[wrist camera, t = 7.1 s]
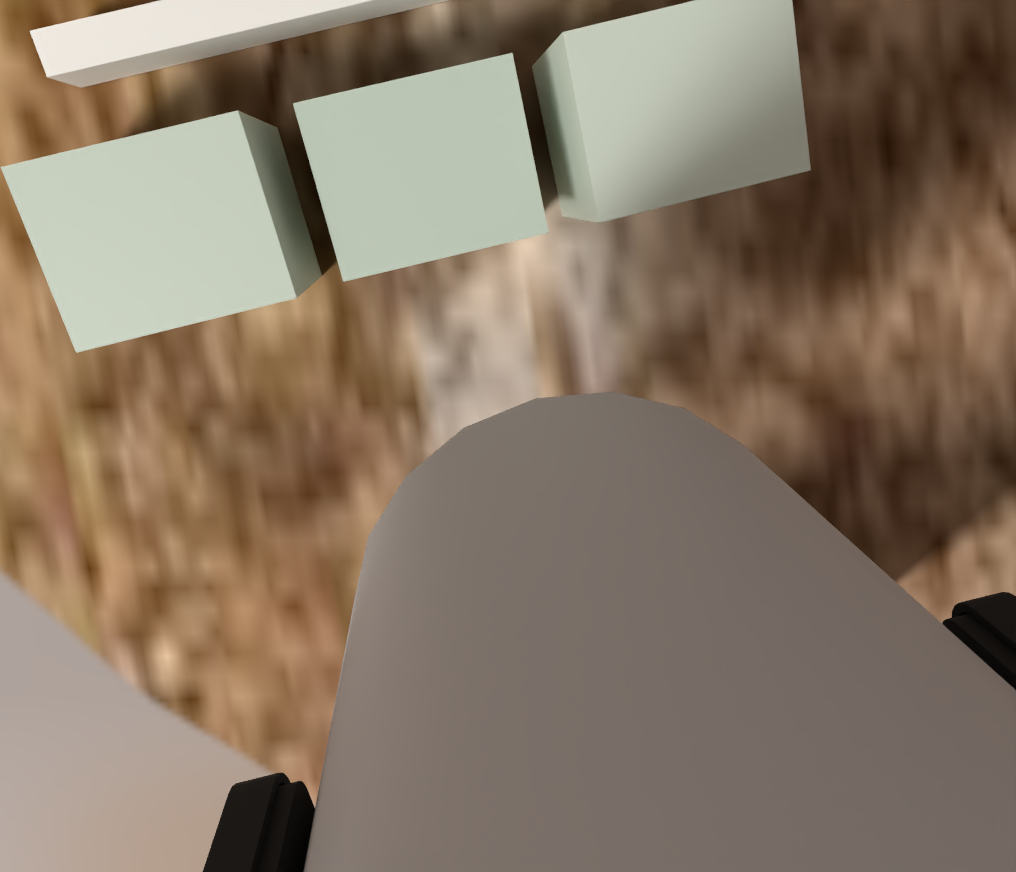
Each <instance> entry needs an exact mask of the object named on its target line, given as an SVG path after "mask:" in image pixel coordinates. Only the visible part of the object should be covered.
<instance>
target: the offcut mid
mask: <svg viewBox="0 0 1016 872" xmlns="http://www.w3.org/2000/svg"><path fill="white" fill-rule="evenodd" d="M293 106H294V110H295V113H296V117H297V120H298V124H299V127H300V131H301V134H302V138H303V141H304V145H305V148H306V152H307V155H308V159H309V162H310V166H311V169H312V173H313V177H314V180H315V184H316V187H317V191H318V194H319V198H320V201H321V205H322V208H323V212H324V215H325V219H326V222H327V226H328V229H329V233H330V236H331V240H332V243H333V247H334V250H335V254H336V257H337V261H338V265H339V268H340V272H341V275H342V279H343V282H344V281H348V280H353V279H357V278H361V277H365V276H369V275H374V274H378V273H382V272H386V271H390V270H395V269H399V268H403V267H407V266H411V265H416V264H420V263H424V262H428V261H432V260H437V259H441V258H445V257H449V256H453V255H458V254H462V253H466V252H470V251H475V250H479V249H483V248H487V247H491V246H496V245H500V244H504V243H508V242H512V241H517V240H521V239H525V238H529V237H533V236H538V235H542V234H546V233H549V232H548V227H547V222H546V217H545V212H544V207H543V202H542V197H541V192H540V187H539V182H538V177H537V172H536V167H535V162H534V157H533V153H532V148H531V143H530V138H529V133H528V128H527V123H526V118H525V113H524V108H523V103H522V98H521V93H520V88H519V83H518V78H517V73H516V68H515V63H514V58H513V53H509V54H505V55H500V56H496V57H492V58H487V59H483V60H479V61H474V62H470V63H466V64H461V65H457V66H453V67H448V68H444V69H439V70H435V71H431V72H426V73H422V74H418V75H413V76H409V77H405V78H400V79H396V80H392V81H387V82H383V83H379V84H374V85H370V86H366V87H361V88H357V89H353V90H348V91H344V92H340V93H335V94H331V95H326V96H322V97H318V98H313V99H309V100H305V101H300V102H296V103H293Z"/></svg>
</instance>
